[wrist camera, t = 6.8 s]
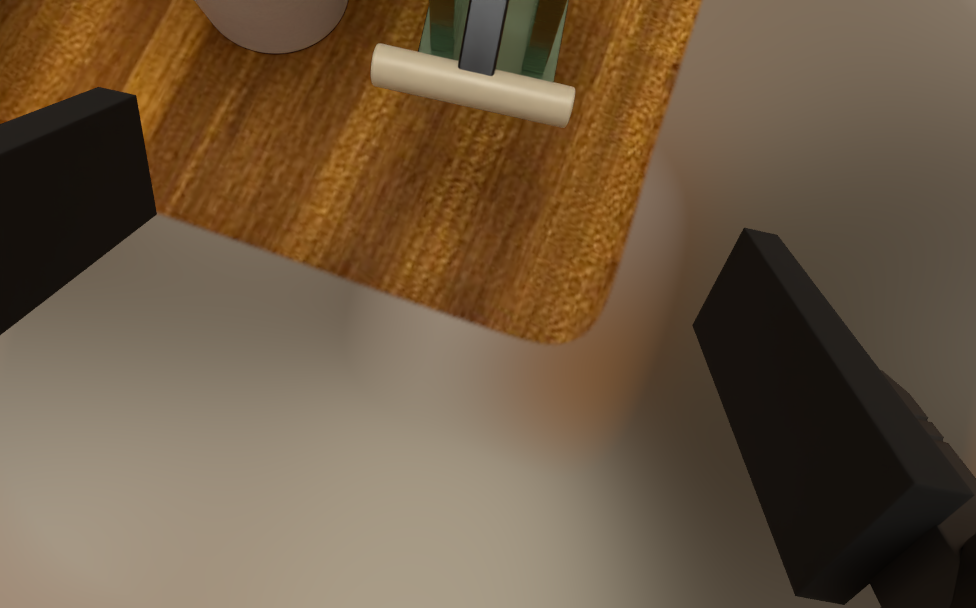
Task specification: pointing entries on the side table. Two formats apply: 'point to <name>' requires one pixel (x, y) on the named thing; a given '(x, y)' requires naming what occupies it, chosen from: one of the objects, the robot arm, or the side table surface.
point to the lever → (474, 73)
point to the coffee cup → (274, 22)
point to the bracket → (524, 37)
